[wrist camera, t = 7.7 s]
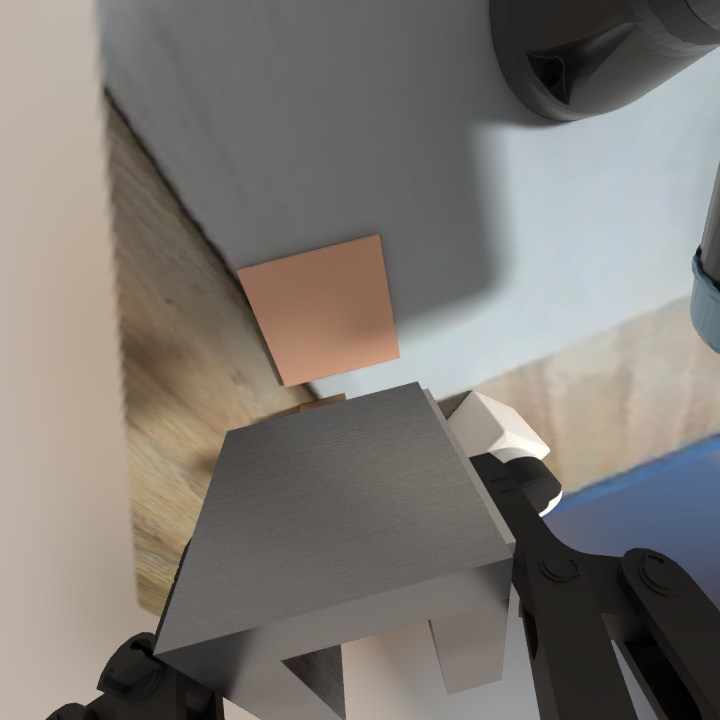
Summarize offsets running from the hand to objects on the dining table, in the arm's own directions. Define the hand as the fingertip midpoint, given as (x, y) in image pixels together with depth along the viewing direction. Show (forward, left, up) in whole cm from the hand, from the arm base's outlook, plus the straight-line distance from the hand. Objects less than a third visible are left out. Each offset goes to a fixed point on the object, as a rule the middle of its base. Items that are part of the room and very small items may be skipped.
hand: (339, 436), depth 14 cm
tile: (0, +1, -17) cm, 17 cm away
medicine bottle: (-14, +19, -17) cm, 29 cm away
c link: (0, +1, +1) cm, 2 cm away
